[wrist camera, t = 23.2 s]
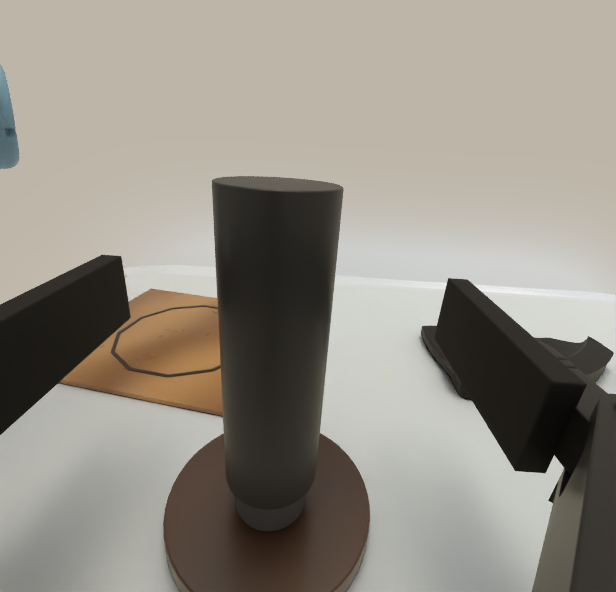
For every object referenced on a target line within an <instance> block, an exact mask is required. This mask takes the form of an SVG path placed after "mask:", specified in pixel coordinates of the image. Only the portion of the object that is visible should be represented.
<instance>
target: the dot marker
mask: <svg viewBox="0 0 616 592" xmlns="http://www.w3.org/2000/svg"><path fill="white" fill-rule="evenodd" d="M212 192H213V214H214V236H215V254H216V255H215V257H216V278H217V299H218V320H219V341H220V362H221V383H222V404H223V425H224V446H225V467H226V480H227V484H228V486H229V488H230V490H231V492H232V493H233V494H234V495H235V506H236V510H237V512H238V514H239V516H240V517H241V519H242V520H243V521H244V522H245V523H246V524H247V525H249V526H250V527H252V528H254V529H257V530H260V531H277V530H280V529H283V528H285V527H287V526H289V525H290V524H292V523H293V522H294V521H295V520H296V519H297V518H298V517H299V515H300V514H301V512H302V510H303V508H304V505H305V500H306V493H307V492H308V491H309V489H310V488H311V486H312V484H313V482H314V479H315V474H316V465H317V455H318V444H319V434H320V424H321V414H322V403H323V393H324V383H325V373H326V362H327V352H328V342H329V332H330V322H331V311H332V301H333V291H334V281H335V270H336V260H337V248H338V239H339V229H340V219H341V209H342V198H343V187H342V186H340V185H337V184H333V183H328V182H321V181H313V180H305V179H294V178H280V177H279V178H278V177H254V176H253V177H252V176H250V177H249V176H247V177H245V176H244V177H243V176H238V177H222V178H216V179H213V180H212Z"/></svg>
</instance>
